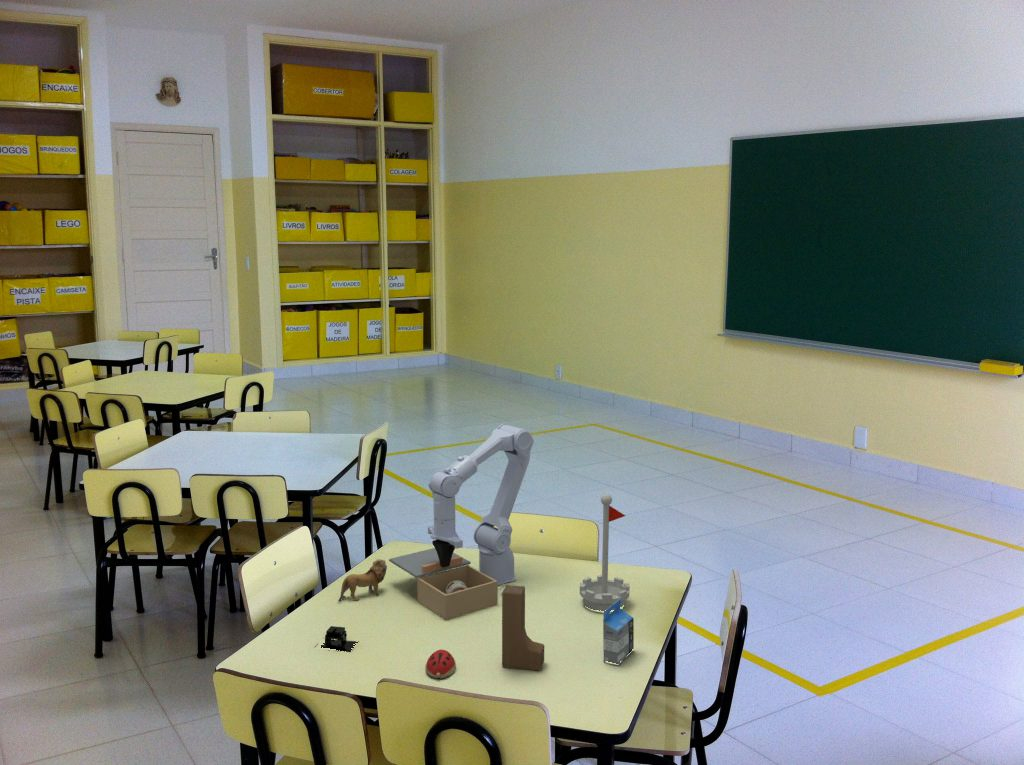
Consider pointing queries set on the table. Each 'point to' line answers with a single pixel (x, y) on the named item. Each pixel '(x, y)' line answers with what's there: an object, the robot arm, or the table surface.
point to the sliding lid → (426, 563)
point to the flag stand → (605, 571)
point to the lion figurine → (365, 579)
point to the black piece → (341, 638)
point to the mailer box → (460, 602)
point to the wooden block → (518, 633)
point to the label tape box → (617, 634)
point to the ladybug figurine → (440, 664)
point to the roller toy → (455, 587)
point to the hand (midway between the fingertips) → (445, 566)
